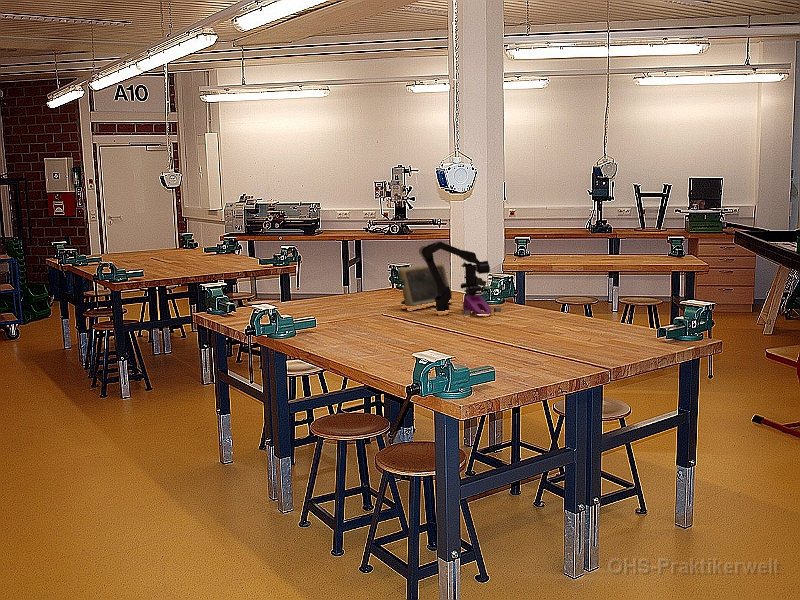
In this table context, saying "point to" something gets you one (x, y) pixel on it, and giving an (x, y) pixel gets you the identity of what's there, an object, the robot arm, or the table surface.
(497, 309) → the stop blocks
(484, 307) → the mounting bracket
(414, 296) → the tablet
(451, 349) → the table surface
